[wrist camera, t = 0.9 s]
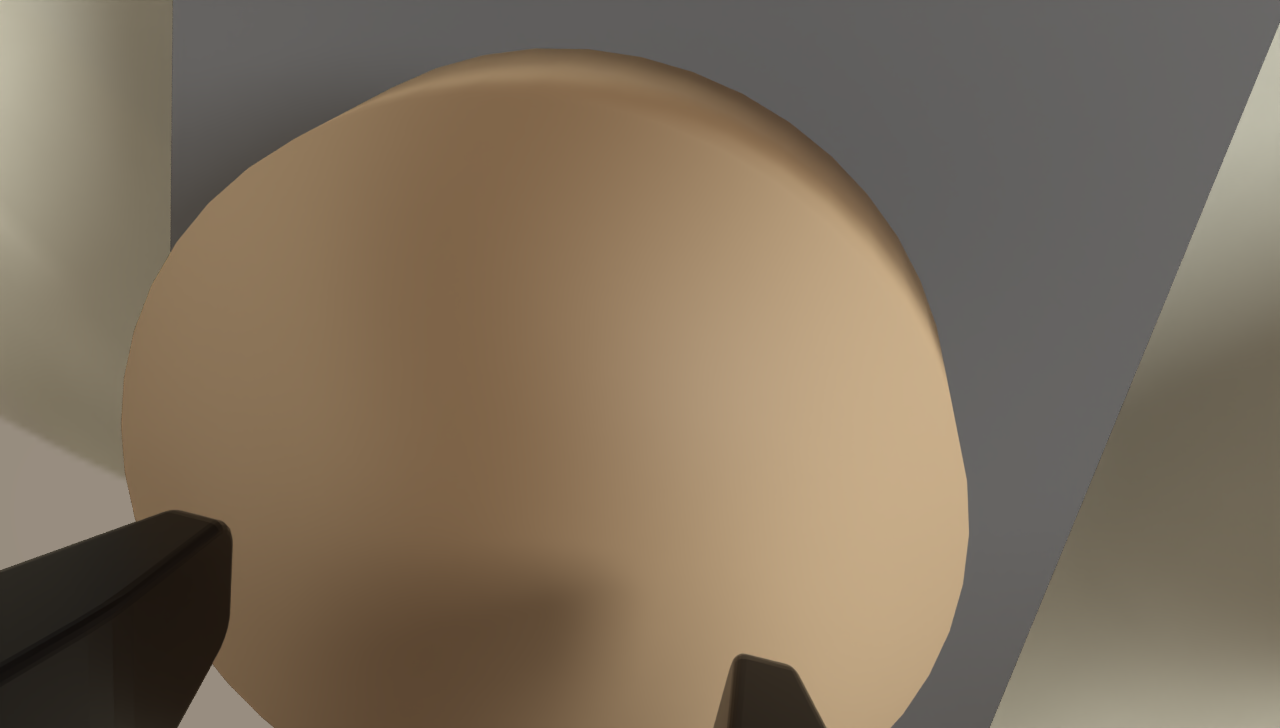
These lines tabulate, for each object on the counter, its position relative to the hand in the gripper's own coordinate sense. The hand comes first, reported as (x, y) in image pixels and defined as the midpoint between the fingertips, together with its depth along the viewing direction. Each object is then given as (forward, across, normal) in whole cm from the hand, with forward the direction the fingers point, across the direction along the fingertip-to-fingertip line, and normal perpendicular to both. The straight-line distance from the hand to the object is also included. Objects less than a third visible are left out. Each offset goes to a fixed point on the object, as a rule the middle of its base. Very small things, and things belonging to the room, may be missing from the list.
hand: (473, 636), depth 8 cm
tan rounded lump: (+8, 0, 0) cm, 8 cm away
